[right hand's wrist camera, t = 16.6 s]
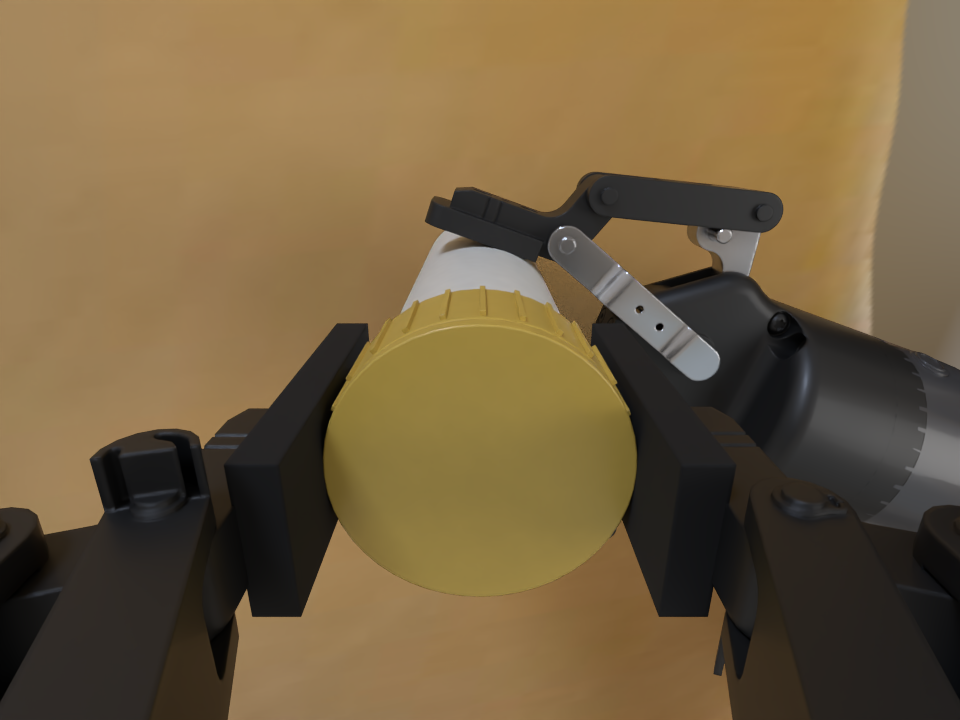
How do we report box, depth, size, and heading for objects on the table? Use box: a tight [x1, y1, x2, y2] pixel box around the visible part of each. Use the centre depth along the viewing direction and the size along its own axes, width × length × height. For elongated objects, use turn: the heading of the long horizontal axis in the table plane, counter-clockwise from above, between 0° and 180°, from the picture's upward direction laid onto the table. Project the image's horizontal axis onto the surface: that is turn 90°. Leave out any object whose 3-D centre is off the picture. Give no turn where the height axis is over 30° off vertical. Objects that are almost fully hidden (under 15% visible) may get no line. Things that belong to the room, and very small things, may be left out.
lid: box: [323, 286, 637, 597], centre depth 11 cm, size 6×6×2 cm
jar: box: [400, 231, 560, 314], centre depth 18 cm, size 5×5×16 cm
